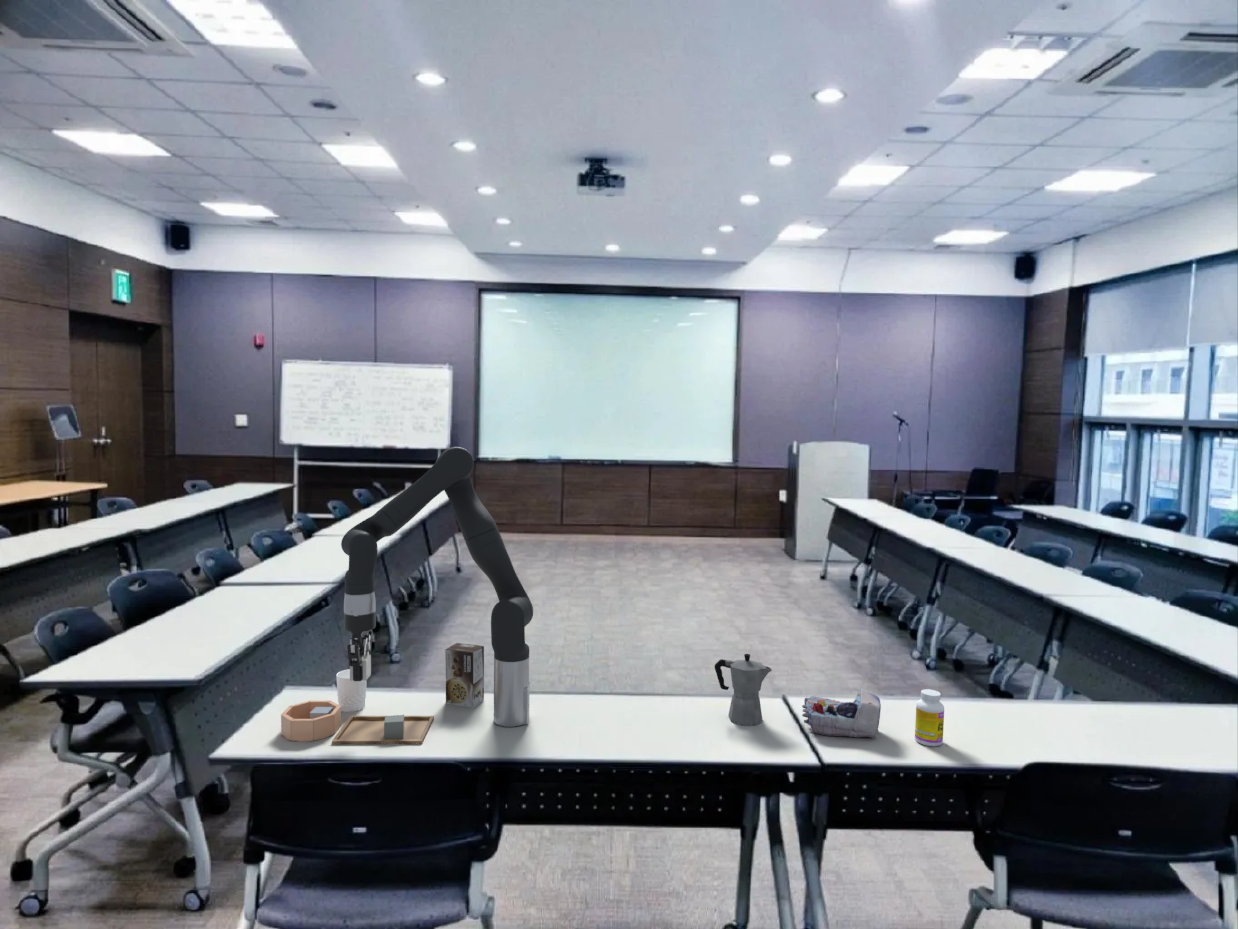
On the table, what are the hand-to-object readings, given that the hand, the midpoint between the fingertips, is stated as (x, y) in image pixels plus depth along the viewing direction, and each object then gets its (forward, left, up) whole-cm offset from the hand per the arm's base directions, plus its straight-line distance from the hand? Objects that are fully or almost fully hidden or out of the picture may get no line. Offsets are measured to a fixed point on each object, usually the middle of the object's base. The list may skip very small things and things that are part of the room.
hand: (360, 677), depth 192 cm
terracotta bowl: (+13, -1, -15) cm, 20 cm away
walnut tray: (-6, -1, -15) cm, 16 cm away
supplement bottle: (-144, +5, -15) cm, 145 cm away
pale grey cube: (0, 0, 0) cm, 0 cm away
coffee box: (-23, -21, -15) cm, 34 cm away
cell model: (-123, -2, -15) cm, 124 cm away
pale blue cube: (+10, -1, -14) cm, 17 cm away
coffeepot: (-99, -10, -15) cm, 100 cm away
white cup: (+7, -17, -15) cm, 24 cm away
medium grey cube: (-9, +2, -14) cm, 17 cm away
